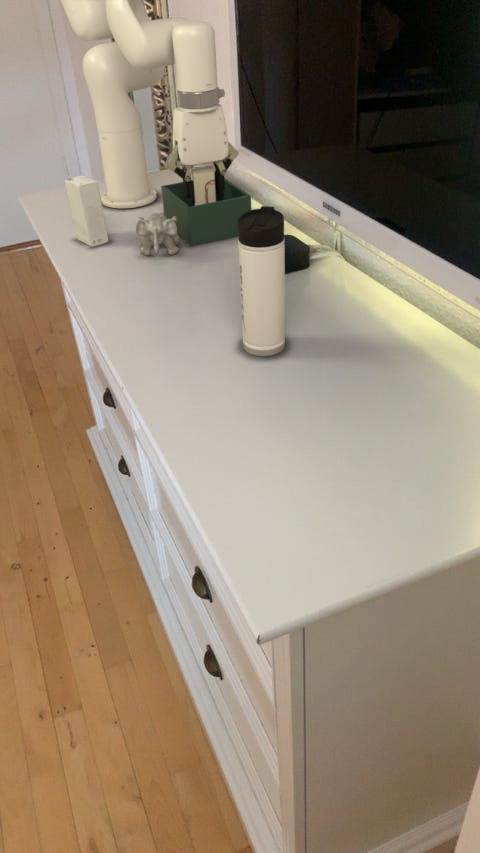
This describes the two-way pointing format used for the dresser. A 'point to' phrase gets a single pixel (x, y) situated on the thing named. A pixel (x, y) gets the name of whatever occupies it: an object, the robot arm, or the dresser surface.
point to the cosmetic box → (87, 210)
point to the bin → (205, 213)
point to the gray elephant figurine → (158, 233)
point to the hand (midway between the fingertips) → (204, 195)
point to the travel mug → (262, 280)
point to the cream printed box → (204, 185)
